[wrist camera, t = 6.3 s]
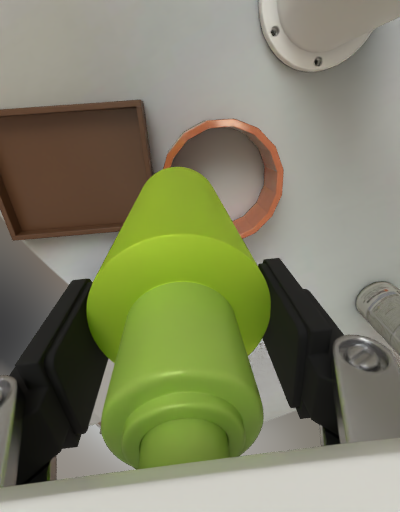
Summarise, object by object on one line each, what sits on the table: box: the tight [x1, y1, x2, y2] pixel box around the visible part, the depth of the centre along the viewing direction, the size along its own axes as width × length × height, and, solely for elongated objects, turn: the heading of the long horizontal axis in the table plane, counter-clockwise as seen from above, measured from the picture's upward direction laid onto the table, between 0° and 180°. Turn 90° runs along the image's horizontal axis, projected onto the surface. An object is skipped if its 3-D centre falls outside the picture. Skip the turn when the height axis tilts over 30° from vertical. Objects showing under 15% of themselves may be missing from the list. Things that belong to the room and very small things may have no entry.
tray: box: [0, 100, 153, 240], centre depth 32 cm, size 14×18×2 cm
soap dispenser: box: [86, 167, 271, 470], centre depth 12 cm, size 6×7×20 cm
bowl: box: [163, 119, 283, 239], centre depth 32 cm, size 13×13×5 cm
